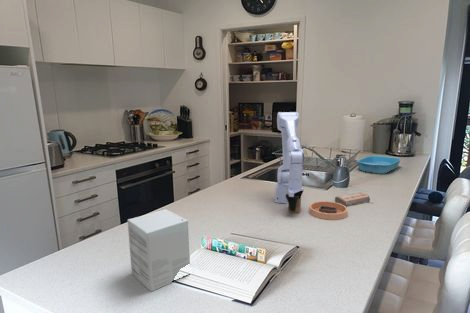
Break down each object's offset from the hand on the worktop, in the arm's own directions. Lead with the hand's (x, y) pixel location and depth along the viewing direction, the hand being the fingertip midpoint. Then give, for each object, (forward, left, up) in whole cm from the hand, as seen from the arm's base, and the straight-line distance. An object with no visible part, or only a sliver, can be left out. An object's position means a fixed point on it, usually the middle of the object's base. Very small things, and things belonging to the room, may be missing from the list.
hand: (294, 207), depth 143 cm
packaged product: (+22, +23, -4) cm, 32 cm away
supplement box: (-26, -63, -3) cm, 68 cm away
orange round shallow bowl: (+14, +4, -3) cm, 15 cm away
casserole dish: (+34, +103, -3) cm, 109 cm away
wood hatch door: (0, 0, -3) cm, 3 cm away
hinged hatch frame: (+14, +4, -2) cm, 15 cm away
